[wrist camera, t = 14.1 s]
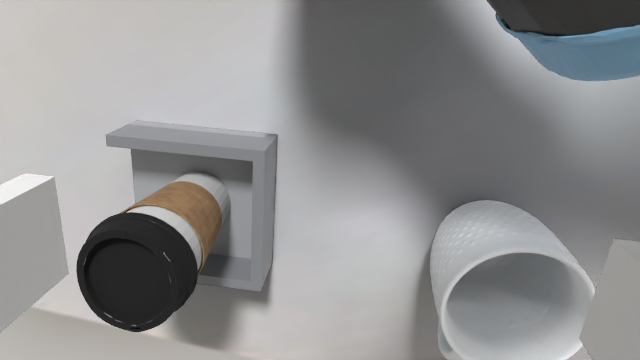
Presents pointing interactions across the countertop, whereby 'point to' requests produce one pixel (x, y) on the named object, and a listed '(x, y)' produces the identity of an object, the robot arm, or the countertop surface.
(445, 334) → the mug
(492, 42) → the countertop surface
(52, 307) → the countertop surface
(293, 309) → the countertop surface
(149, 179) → the dock
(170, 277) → the coffee cup
